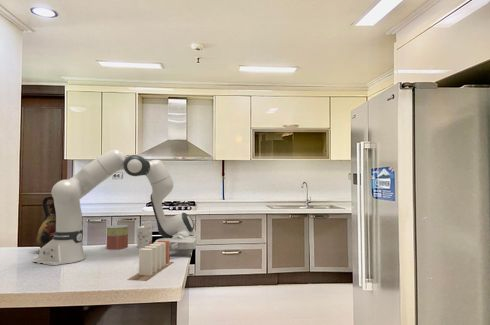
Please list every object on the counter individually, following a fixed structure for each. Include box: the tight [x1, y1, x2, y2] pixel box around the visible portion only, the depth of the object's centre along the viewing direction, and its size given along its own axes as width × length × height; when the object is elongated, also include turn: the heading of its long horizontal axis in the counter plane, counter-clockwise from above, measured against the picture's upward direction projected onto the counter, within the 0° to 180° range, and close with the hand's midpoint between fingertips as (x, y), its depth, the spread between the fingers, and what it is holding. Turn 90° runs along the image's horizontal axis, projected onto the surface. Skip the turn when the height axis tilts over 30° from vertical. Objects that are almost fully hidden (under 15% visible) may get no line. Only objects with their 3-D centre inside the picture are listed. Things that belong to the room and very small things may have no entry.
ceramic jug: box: [36, 195, 56, 249], centre depth 168 cm, size 17×15×30 cm
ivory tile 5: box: [138, 248, 153, 275], centre depth 123 cm, size 2×5×10 cm, turn 80°
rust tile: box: [157, 240, 170, 264], centre depth 139 cm, size 2×5×10 cm, turn 80°
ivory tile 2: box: [152, 241, 166, 267], centre depth 135 cm, size 2×5×10 cm, turn 80°
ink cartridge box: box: [136, 220, 153, 249], centre depth 178 cm, size 9×5×15 cm, turn 168°
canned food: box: [106, 224, 129, 251], centre depth 176 cm, size 11×11×12 cm
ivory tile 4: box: [143, 246, 157, 272], centre depth 127 cm, size 2×5×10 cm, turn 80°
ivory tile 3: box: [149, 243, 162, 269], centre depth 131 cm, size 2×5×10 cm, turn 80°
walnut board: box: [127, 261, 175, 282], centre depth 129 cm, size 8×26×1 cm, turn 170°
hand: (169, 247), depth 146 cm, fingers closed
